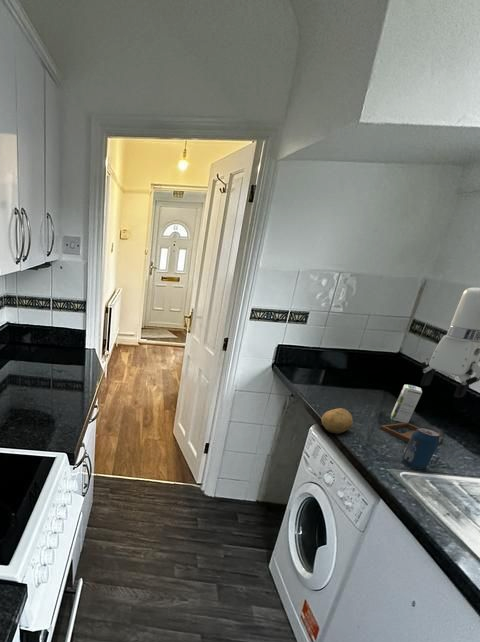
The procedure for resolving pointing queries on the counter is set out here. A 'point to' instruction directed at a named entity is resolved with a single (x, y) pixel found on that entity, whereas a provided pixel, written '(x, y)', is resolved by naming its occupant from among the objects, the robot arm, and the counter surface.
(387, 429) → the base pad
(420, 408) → the counter surface
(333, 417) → the potato
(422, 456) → the soda can
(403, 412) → the syrup box
